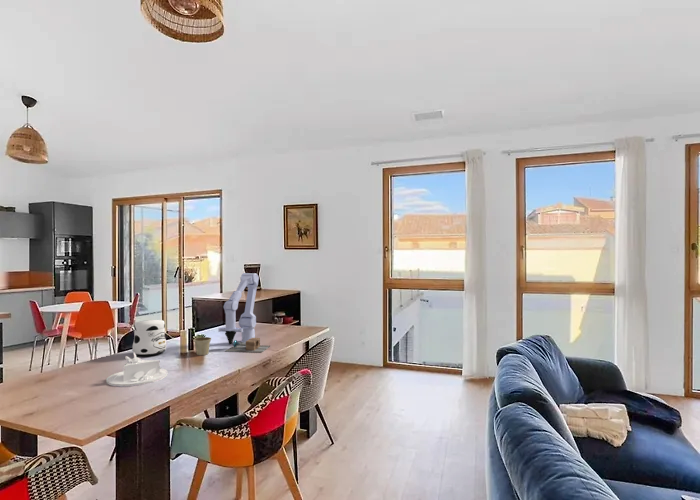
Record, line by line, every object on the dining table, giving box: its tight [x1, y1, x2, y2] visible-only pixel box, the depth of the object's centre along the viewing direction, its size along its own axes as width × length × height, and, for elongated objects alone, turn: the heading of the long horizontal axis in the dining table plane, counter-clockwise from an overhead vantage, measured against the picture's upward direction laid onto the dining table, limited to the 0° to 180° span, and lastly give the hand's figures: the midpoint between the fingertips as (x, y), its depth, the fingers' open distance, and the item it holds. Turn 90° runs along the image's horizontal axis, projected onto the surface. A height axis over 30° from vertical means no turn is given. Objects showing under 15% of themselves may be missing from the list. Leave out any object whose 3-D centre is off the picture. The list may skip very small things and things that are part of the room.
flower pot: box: [193, 336, 212, 356], centre depth 230 cm, size 9×9×9 cm
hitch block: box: [224, 337, 271, 354], centre depth 242 cm, size 16×22×6 cm
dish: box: [106, 351, 169, 388], centre depth 187 cm, size 25×25×11 cm
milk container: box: [132, 319, 168, 357], centre depth 230 cm, size 17×17×18 cm
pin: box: [232, 339, 246, 347], centre depth 242 cm, size 4×12×4 cm, turn 83°
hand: (230, 343), depth 243 cm, fingers closed
